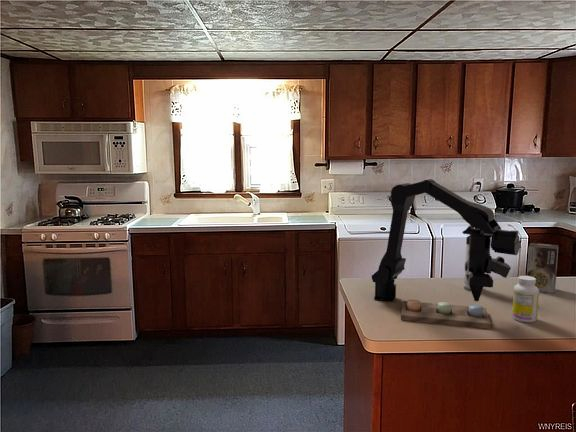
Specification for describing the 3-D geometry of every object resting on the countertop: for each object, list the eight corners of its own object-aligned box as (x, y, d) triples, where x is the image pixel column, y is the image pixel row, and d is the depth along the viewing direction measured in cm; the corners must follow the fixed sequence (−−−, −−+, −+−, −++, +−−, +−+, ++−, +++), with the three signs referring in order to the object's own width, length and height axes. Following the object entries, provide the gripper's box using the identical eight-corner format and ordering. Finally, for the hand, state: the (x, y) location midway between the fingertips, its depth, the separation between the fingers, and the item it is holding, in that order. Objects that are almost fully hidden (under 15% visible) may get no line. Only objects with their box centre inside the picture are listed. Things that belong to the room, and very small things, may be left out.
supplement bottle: (524, 313, 143) (527, 273, 141) (541, 321, 136) (545, 279, 134) (506, 316, 141) (509, 275, 138) (524, 324, 134) (527, 282, 132)
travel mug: (481, 292, 162) (484, 237, 159) (461, 289, 166) (464, 235, 162) (484, 288, 167) (488, 234, 164) (465, 285, 171) (468, 232, 168)
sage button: (437, 313, 140) (437, 305, 139) (437, 308, 144) (437, 301, 143) (451, 314, 139) (451, 307, 138) (450, 310, 142) (451, 302, 142)
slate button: (469, 316, 137) (469, 308, 137) (468, 311, 141) (468, 304, 141) (483, 317, 136) (484, 309, 136) (482, 312, 140) (482, 305, 139)
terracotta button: (406, 310, 142) (407, 303, 142) (407, 306, 146) (407, 298, 146) (420, 311, 141) (420, 304, 141) (420, 307, 145) (420, 300, 145)
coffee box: (555, 288, 166) (559, 245, 163) (554, 293, 160) (558, 248, 158) (527, 284, 171) (530, 242, 168) (525, 289, 165) (528, 245, 163)
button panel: (400, 319, 139) (401, 315, 138) (403, 305, 151) (403, 300, 151) (490, 328, 132) (491, 323, 131) (485, 312, 144) (485, 307, 144)
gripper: (515, 259, 124) (511, 314, 127) (504, 244, 142) (501, 293, 144) (470, 257, 127) (467, 310, 130) (465, 242, 145) (463, 290, 148)
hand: (476, 300), depth 138 cm, fingers closed
